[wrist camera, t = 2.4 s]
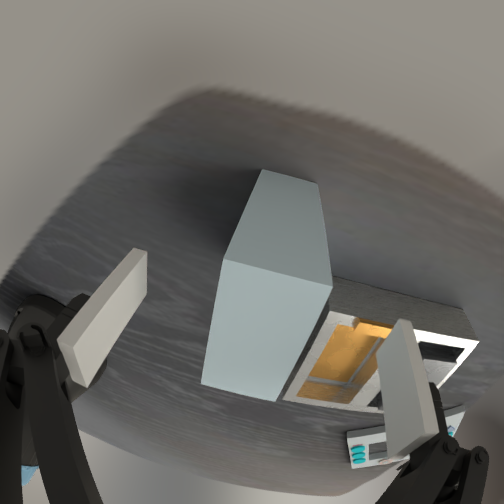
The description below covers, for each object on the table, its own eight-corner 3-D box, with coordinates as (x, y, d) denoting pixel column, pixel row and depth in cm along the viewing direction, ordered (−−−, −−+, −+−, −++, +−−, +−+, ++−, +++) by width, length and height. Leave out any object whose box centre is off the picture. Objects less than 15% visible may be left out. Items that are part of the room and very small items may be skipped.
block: (240, 262, 25) (200, 383, 15) (262, 168, 21) (223, 258, 11) (287, 274, 25) (275, 401, 15) (317, 183, 21) (333, 286, 11)
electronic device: (466, 413, 31) (447, 450, 38) (462, 401, 33) (445, 440, 40) (347, 441, 36) (352, 470, 43) (346, 428, 38) (351, 460, 45)
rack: (285, 364, 31) (281, 407, 26) (326, 274, 25) (330, 320, 20) (405, 383, 31) (412, 422, 26) (463, 309, 24) (482, 349, 20)
